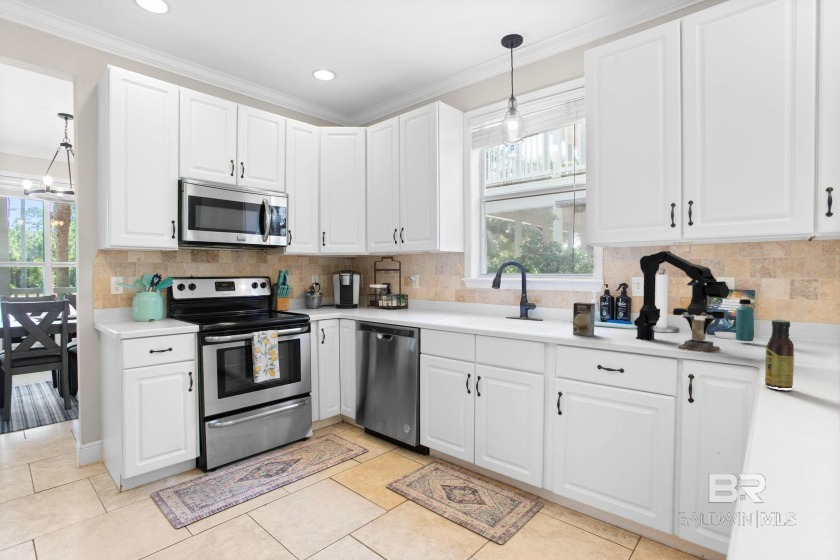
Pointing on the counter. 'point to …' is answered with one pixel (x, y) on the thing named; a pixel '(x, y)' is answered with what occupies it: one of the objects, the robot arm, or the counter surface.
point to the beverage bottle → (744, 322)
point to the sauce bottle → (779, 356)
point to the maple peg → (698, 330)
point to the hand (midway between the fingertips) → (698, 333)
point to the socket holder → (699, 345)
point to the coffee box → (583, 319)
